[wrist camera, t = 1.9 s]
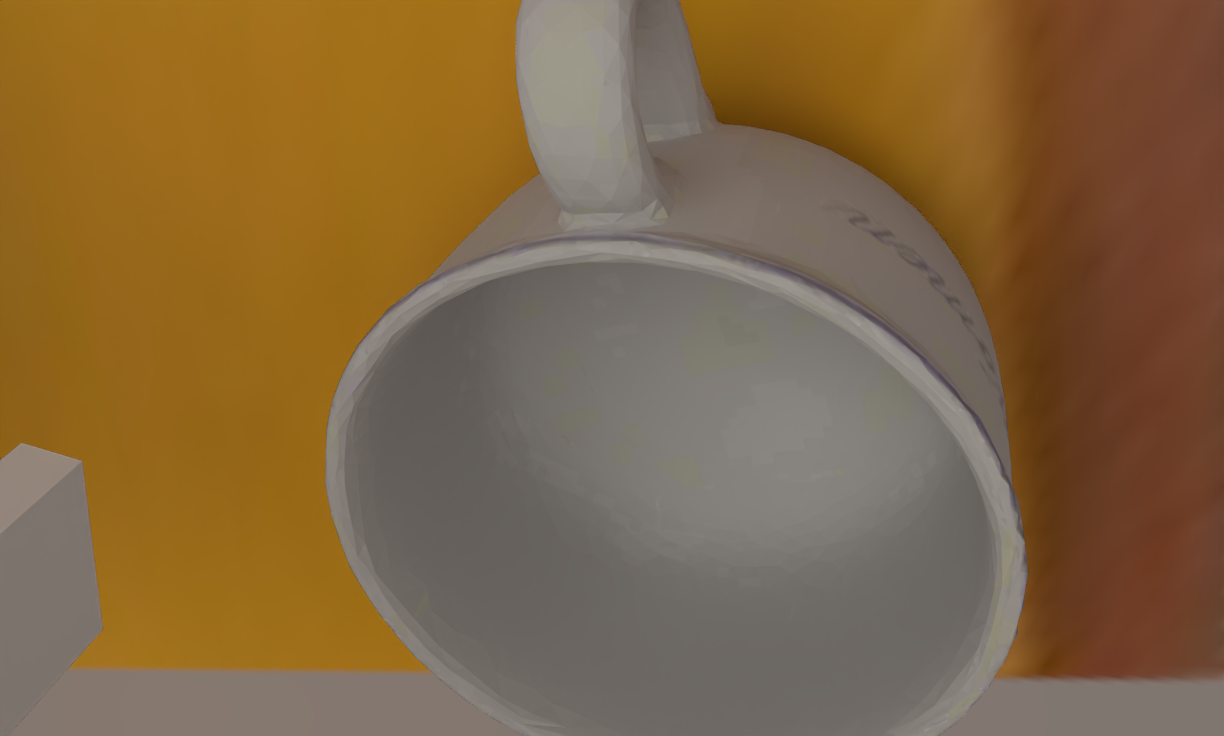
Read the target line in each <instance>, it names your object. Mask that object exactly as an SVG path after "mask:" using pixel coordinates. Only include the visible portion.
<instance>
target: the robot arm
mask: <svg viewBox="0 0 1224 736" xmlns="http://www.w3.org/2000/svg"><path fill="white" fill-rule="evenodd" d="M102 630H103V626H102V618H101V610H100V602H99V594H98V586H97V578H96V570H95V561H94V553H93V545H92V537H91V529H90V521H89V513H88V505H87V497H86V489H85V480H84V472H83V464H82V461H81V460H77V459H74V458H71V457H67V456H64V455H61V454H58V453H54V452H51V451H48V450H44V449H41V448H38V447H34V446H31V445H28V444H24V443H21V444H19V445H18V446H17V447H16V448H15V449H13V450H12V451H11V452H10V453H8V454H7V455H6V456H5V457H3V458H2V459H1V460H0V736H8V735H9V734H10V733H11V732H12V731H13V730H14V729H15V728H16V726H17V725H18V724H19V723H20V722H21V721H22V720H23V719H24V717H25V716H26V715H27V714H28V713H29V712H30V711H31V710H32V708H33V707H34V706H35V705H36V704H37V703H38V702H39V700H40V699H41V698H42V697H43V696H44V695H45V694H46V693H47V692H48V690H49V689H50V688H51V687H52V686H53V685H54V684H55V682H56V681H57V680H58V679H59V678H60V677H61V676H62V675H63V674H64V672H65V671H66V670H67V669H68V668H69V667H70V666H71V665H72V663H73V662H74V661H75V660H76V659H77V658H78V657H79V656H80V654H81V653H82V652H83V651H84V650H85V649H86V648H87V647H88V645H89V644H90V643H91V642H92V641H93V640H94V639H95V638H96V637H97V635H98V634H99V633H100V632H101V631H102Z"/></svg>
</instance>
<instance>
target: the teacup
mask: <svg viewBox="0 0 1224 736" xmlns="http://www.w3.org/2000/svg"><path fill="white" fill-rule="evenodd" d="M516 79H517V88H518V93H519V99H520V104H521V109H522V114H523V119H524V124H525V129H526V134H527V139H528V143H529V146H530V149H531V152H532V154H533V157H534V160H535V162H536V165H537V168H538V170H539V172H540V174H538V175H537V176H535V177H534V178H532V179H531V180H530V181H529V182H527V183H526V184H525V185H523V186H522V187H521V188H520V189H518V190H517V191H516V192H515V193H513V194H512V195H511V196H509V197H508V198H507V199H506V200H505V201H504V202H503V203H502V204H501V205H500V206H498V207H497V208H496V209H495V210H494V211H493V212H492V213H491V214H490V215H489V216H488V217H487V218H486V219H485V220H484V221H483V222H482V223H481V224H480V225H479V226H478V227H477V228H476V229H475V230H474V231H472V232H471V233H470V234H469V235H468V236H467V237H466V238H465V239H464V240H463V241H462V242H461V243H460V244H459V245H458V247H457V248H456V249H455V250H454V251H453V252H452V253H451V254H450V255H449V256H448V257H447V259H446V260H445V261H444V262H443V263H442V264H441V265H440V266H439V267H438V268H437V270H436V271H435V272H434V273H433V274H432V275H431V276H430V277H429V278H428V279H427V280H426V281H425V282H423V283H421V284H419V285H418V286H416V287H415V288H414V289H412V290H411V291H410V292H409V293H407V294H406V295H405V296H404V297H402V298H401V299H400V300H399V301H397V302H396V303H395V304H394V305H392V306H391V307H390V308H389V309H388V310H387V311H386V312H385V313H384V314H383V316H382V317H381V318H380V319H379V320H378V322H377V323H376V324H375V325H374V326H373V327H372V329H371V330H370V331H369V332H368V333H367V335H366V336H365V337H364V338H363V339H362V341H361V342H360V343H359V344H358V346H357V348H356V349H355V351H354V353H353V355H352V357H351V359H350V361H349V363H348V365H347V367H346V369H345V371H344V373H343V375H342V377H341V379H340V381H339V384H338V387H337V390H336V393H335V395H334V398H333V401H332V405H331V409H330V414H329V418H328V423H327V437H326V476H325V485H326V490H327V495H328V500H329V505H330V510H331V515H332V518H333V521H334V524H335V527H336V530H337V533H338V536H339V539H340V542H341V544H342V547H343V550H344V552H345V555H346V557H347V560H348V563H349V565H350V568H351V569H352V571H353V573H354V574H355V576H356V578H357V579H358V581H359V583H360V585H361V586H362V588H363V589H364V591H365V593H366V594H367V596H368V597H369V599H370V600H371V602H372V604H373V605H374V607H375V608H376V610H377V611H378V613H379V614H380V615H381V617H382V618H383V619H384V620H385V622H386V623H387V624H388V625H389V626H390V628H391V629H392V630H393V631H394V633H395V634H396V635H397V637H398V638H399V639H400V640H401V641H402V642H403V643H404V645H405V646H406V647H407V648H408V649H409V650H410V651H411V653H412V654H413V655H414V656H415V657H416V658H417V659H418V660H419V661H420V662H421V663H422V664H424V665H425V666H426V667H427V668H428V669H429V670H430V671H431V672H433V673H434V674H435V675H436V676H437V677H438V678H439V679H440V680H441V681H442V682H443V683H445V684H446V685H447V686H448V687H450V688H451V689H452V690H454V691H455V692H456V693H457V694H459V695H460V696H461V697H462V698H464V699H465V700H466V701H468V702H469V703H471V704H472V705H474V706H475V707H477V708H478V709H480V710H481V711H482V712H484V713H485V714H487V715H488V716H490V717H491V718H493V719H494V720H496V721H498V722H500V723H502V724H504V725H506V726H507V727H509V728H510V729H512V730H513V731H515V732H517V733H519V734H521V735H523V736H939V735H941V734H942V733H943V732H945V731H946V730H947V729H949V728H950V727H951V726H953V725H954V724H955V723H956V722H957V721H959V720H960V719H961V718H962V717H963V716H964V715H965V714H966V713H967V712H968V711H969V709H970V708H971V707H972V705H973V704H974V703H975V702H976V701H977V700H978V699H979V698H980V697H981V696H982V694H983V693H984V692H985V690H986V689H987V688H988V687H989V685H990V684H991V682H992V680H993V678H994V677H995V675H996V673H997V672H998V670H999V669H1000V668H1001V666H1002V665H1003V664H1004V662H1005V660H1006V657H1007V654H1008V652H1009V649H1010V647H1011V645H1012V643H1013V641H1014V639H1015V637H1016V635H1017V633H1018V630H1017V623H1018V620H1019V617H1020V615H1021V612H1022V609H1023V605H1024V596H1025V586H1026V581H1027V576H1028V565H1027V558H1026V551H1025V540H1024V533H1023V526H1022V519H1021V514H1020V509H1019V504H1018V500H1017V497H1016V495H1015V492H1014V490H1013V487H1012V472H1011V458H1010V449H1009V439H1008V429H1007V419H1006V410H1005V401H1004V395H1003V389H1002V383H1001V377H1000V371H999V365H998V360H997V356H996V352H995V348H994V344H993V340H992V336H991V332H990V329H989V326H988V324H987V321H986V318H985V315H984V313H983V310H982V307H981V305H980V303H979V301H978V298H977V296H976V294H975V291H974V289H973V287H972V285H971V282H970V280H969V278H968V277H967V275H966V274H965V272H964V270H963V269H962V267H961V266H960V264H959V262H958V261H957V259H956V258H955V256H954V254H953V253H952V251H951V250H950V248H949V247H948V246H947V244H946V243H945V242H944V240H943V239H942V238H941V236H940V235H939V234H938V232H937V231H936V230H935V229H934V228H933V227H932V225H931V224H930V223H929V222H928V221H927V220H926V219H925V218H924V217H923V216H922V214H921V213H920V212H919V211H918V210H917V209H916V208H915V207H914V206H913V205H912V204H910V203H909V202H908V201H907V200H906V199H904V198H903V197H902V196H901V195H900V194H899V193H897V192H896V191H895V190H894V189H893V188H892V187H890V186H889V185H888V184H887V183H886V182H884V181H883V180H881V179H880V178H878V177H877V176H875V175H874V174H872V173H871V172H869V171H868V170H866V169H865V168H863V167H862V166H860V165H858V164H856V163H854V162H852V161H850V160H848V159H847V158H845V157H843V156H841V155H839V154H837V153H835V152H833V151H832V150H830V149H827V148H825V147H822V146H819V145H817V144H814V143H811V142H809V141H806V140H803V139H800V138H797V137H794V136H790V135H787V134H784V133H780V132H775V131H770V130H765V129H760V128H755V127H750V126H743V125H732V124H721V123H720V122H719V121H718V120H717V119H716V116H715V113H714V110H713V107H712V104H711V101H710V99H709V98H708V96H707V94H706V92H705V90H704V89H703V86H702V82H701V78H700V74H699V70H698V66H697V62H696V58H695V54H694V51H693V47H692V43H691V39H690V35H689V31H688V27H687V24H686V20H685V17H684V14H683V11H682V8H681V5H680V1H679V0H522V1H521V5H520V9H519V13H518V17H517V21H516Z"/></svg>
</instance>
